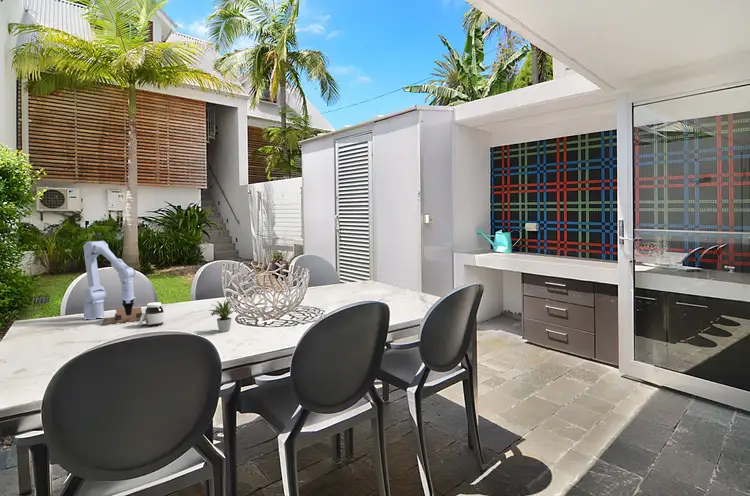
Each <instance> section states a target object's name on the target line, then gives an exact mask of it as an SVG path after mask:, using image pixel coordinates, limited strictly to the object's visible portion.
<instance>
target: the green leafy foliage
mask: <svg viewBox="0 0 750 496" xmlns="http://www.w3.org/2000/svg"><path fill="white" fill-rule="evenodd" d="M224 301H225V305H226V302H227V300H226V299H225V300H224ZM224 301H222V302H220V303H221V304H222V306H224ZM217 306H218V307H219V304H218V305H217ZM228 307H229V308H230V306H229V305H228ZM219 308H220V307H219ZM217 309H218V308H217V307H216V306H215V309H214V310H217ZM220 309H221V308H220ZM218 310H219V309H218ZM228 310H229V309H228ZM219 311H220V310H219ZM232 311H233V312H232ZM229 312H231V313H230V314H229V315H232V314H233V313H234V312H235V311H234V310H233V308H232V307H231V309H230V310H229ZM213 314H215V315H217V314H218V315H220V314H219V313H217V312H215V313H214V312H213Z"/></svg>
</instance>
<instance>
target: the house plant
mask: <svg viewBox="0 0 750 496" xmlns="http://www.w3.org/2000/svg"><path fill="white" fill-rule="evenodd" d="M216 302H217V304H218V305H219V307H220V308H221V309H220V308H219V307H218V305H215V304H213V303H211V306H213V307H215V308H216V307H217V308H218V309H219V310H220V311H219V310H218V309H217V310H215V309H208V311H211V312H213V313H211V315H210V316H211V317H212V316H214V315H216V316H218V317H217V318H216V322H217V328H218V331H219V333H228V332H230V330H231V324H232V317H230V315H231V314H230V313H231V312H229V310H230V309H231V307H232V306H233V305H231V306H230V305H229V302H230V300H229V301H227V302H226V305H225V300H224V301H223V302H224V306H222V304H221V303H222V302H219V301H218V300H216ZM231 302H232V301H231ZM230 304H231V303H230ZM232 304H233V303H232ZM228 305H229V306H230V308H229V307H228ZM228 309H229V310H228ZM215 312H217V313H219V314H214V313H215ZM232 312H233V311H232ZM233 313H234V312H233Z"/></svg>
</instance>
